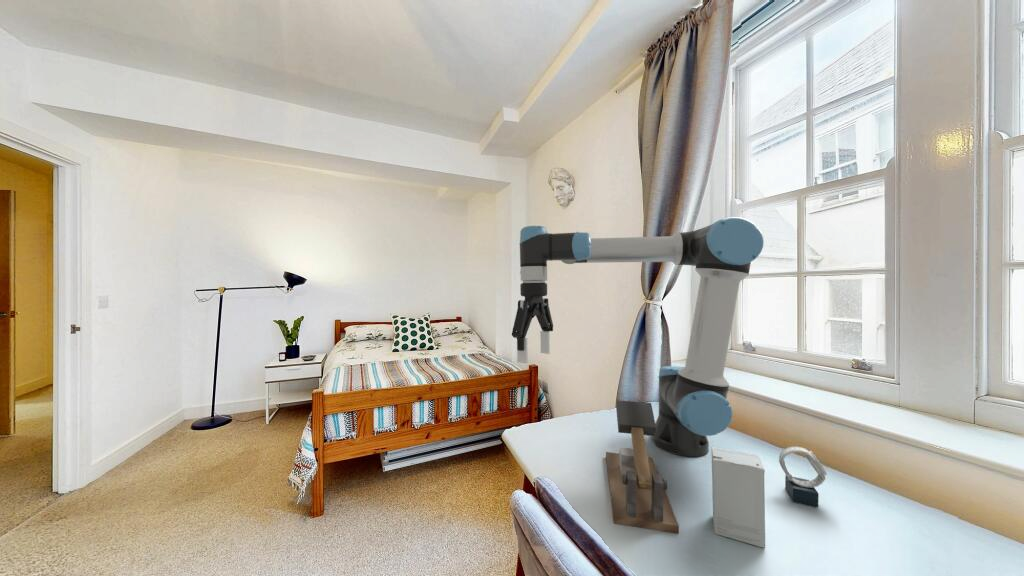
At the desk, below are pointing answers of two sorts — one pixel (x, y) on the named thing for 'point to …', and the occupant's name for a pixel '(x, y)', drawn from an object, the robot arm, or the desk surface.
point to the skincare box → (738, 496)
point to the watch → (803, 488)
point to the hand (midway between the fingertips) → (534, 357)
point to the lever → (637, 435)
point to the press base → (638, 495)
